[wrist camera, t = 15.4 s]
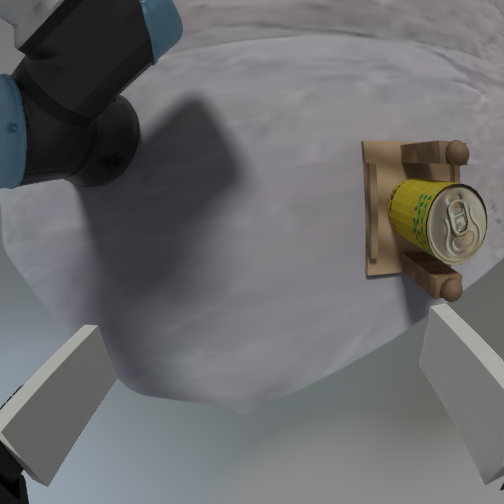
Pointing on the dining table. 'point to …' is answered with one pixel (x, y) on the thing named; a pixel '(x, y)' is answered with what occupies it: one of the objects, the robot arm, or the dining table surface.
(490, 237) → the dining table surface
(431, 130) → the dining table surface
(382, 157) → the knobbed wooden cradle
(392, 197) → the beverage can
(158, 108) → the dining table surface
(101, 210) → the dining table surface
